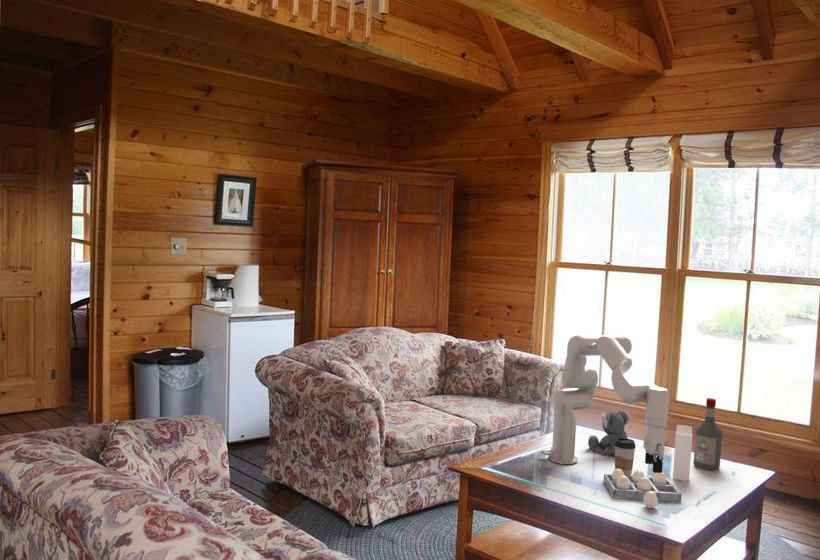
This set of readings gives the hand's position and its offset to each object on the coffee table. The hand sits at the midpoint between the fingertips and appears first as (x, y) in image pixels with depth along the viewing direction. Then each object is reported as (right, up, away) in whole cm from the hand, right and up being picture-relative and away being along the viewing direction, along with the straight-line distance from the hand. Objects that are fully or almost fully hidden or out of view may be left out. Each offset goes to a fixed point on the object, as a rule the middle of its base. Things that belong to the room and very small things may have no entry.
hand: (653, 468), depth 252 cm
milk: (+23, -14, +34) cm, 43 cm away
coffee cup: (-1, -13, +33) cm, 36 cm away
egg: (-1, -15, +1) cm, 15 cm away
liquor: (+40, -13, +49) cm, 65 cm away
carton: (+1, -14, +17) cm, 22 cm away
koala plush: (+4, -11, +64) cm, 65 cm away
